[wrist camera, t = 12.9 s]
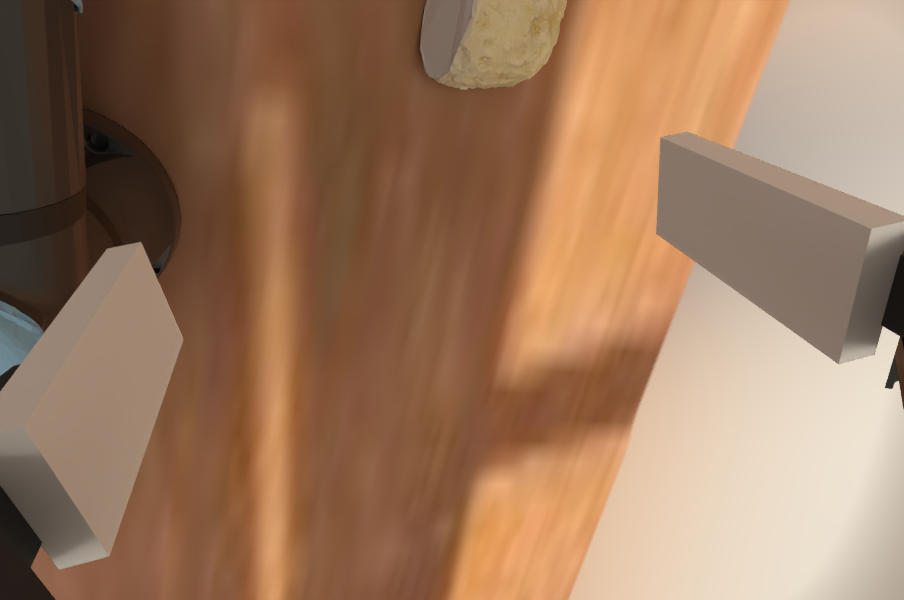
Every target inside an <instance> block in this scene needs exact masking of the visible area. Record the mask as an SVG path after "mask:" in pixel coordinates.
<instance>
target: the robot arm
mask: <svg viewBox="0 0 904 600" xmlns="http://www.w3.org/2000/svg"><path fill="white" fill-rule="evenodd" d="M82 13H83V3H82V0H0V600H55V598H54V597H53V596H52V595H51V593H50V592H49V591H48V590H47V588H46V587H45V586H44V585H43V583H42V582H41V581H40V579H39V578H38V577H37V576H36V574H35V573H34V572H33V571H32V569H31V568H30V567H31V565H32V563H33V561H34V559H35V557H36V555H37V552H38V550H39V548H40V546H42V548H43V549H44V550H45V552H46V553H47V554H48V556H49V557H50V558H51V560H52V561H53V562H54V564H55V565H56V566H57V568H58V569H63V568H67V567H71V566H75V565H78V564H82V563H86V562H90V561H94V560H97V559H101V558H105V557H109V556H110V553H111V550H112V547H113V544H114V541H115V538H116V535H117V532H118V529H119V526H120V523H121V521H122V518H123V515H124V512H125V509H126V506H127V503H128V500H129V497H130V494H131V491H132V488H133V486H134V483H135V480H136V477H137V474H138V471H139V468H140V465H141V462H142V459H143V456H144V453H145V451H146V448H147V445H148V442H149V439H150V436H151V433H152V430H153V427H154V424H155V421H156V418H157V415H158V413H159V410H160V407H161V404H162V401H163V398H164V395H165V392H166V389H167V386H168V383H169V380H170V378H171V375H172V372H173V369H174V366H175V363H176V360H177V357H178V354H179V351H180V348H181V345H182V343H183V340H184V339H183V337H182V334H181V332H180V330H179V327H178V325H177V323H176V321H175V318H174V316H173V314H172V311H171V309H170V307H169V305H168V302H167V300H166V298H165V295H164V293H163V291H162V289H161V286H160V284H159V282H158V278H159V276H160V275H161V274H162V272H163V271H164V269H165V268H166V266H167V264H168V262H169V260H170V258H171V256H172V254H173V252H174V250H175V248H176V245H177V242H178V238H179V233H180V208H179V203H178V199H177V195H176V192H175V189H174V187H173V184H172V182H171V180H170V178H169V176H168V174H167V173H166V171H165V169H164V168H163V166H162V165H161V163H160V162H159V161H158V159H157V158H156V157H155V156H154V154H153V153H152V152H151V151H150V150H149V149H148V148H147V147H146V146H145V145H144V144H143V143H142V142H141V141H140V140H139V139H137V138H136V137H135V136H134V135H132V134H131V133H130V132H128V131H127V130H126V129H124V128H123V127H121V126H119V125H118V124H116V123H114V122H113V121H111V120H109V119H107V118H105V117H103V116H101V115H98V114H96V113H94V112H91V111H88V110H85V109H82V90H81V71H80V52H79V34H78V15H77V14H82ZM656 234H657V235H659V236H660V237H662V238H663V239H664V240H666V241H667V242H669V243H670V244H671V245H673V246H674V247H676V248H677V249H678V250H680V251H681V252H683V253H684V254H685V255H687V256H688V257H690V258H691V259H692V260H694V261H695V262H697V263H698V264H699V265H701V266H702V267H704V268H705V269H706V270H708V271H709V272H711V273H712V274H713V275H715V276H716V277H718V278H719V279H720V280H722V281H723V282H725V283H726V284H727V285H729V286H730V287H731V288H733V289H734V290H736V291H737V292H739V293H740V294H741V295H743V296H744V297H746V298H747V299H748V300H750V301H751V302H753V303H754V304H755V305H757V306H758V307H759V308H761V309H762V310H764V311H765V312H766V313H768V314H769V315H771V316H772V317H774V318H775V319H776V320H778V321H779V322H781V323H782V324H783V325H785V326H786V327H787V328H789V329H790V330H792V331H793V332H794V333H796V334H797V335H799V336H800V337H801V338H803V339H804V340H806V341H807V342H808V343H810V344H811V345H813V346H814V347H815V348H817V349H818V350H820V351H821V352H823V353H824V354H825V355H827V356H828V357H830V358H831V359H832V360H834V361H835V362H836V363H838V364H841V363H845V362H849V361H852V360H856V359H860V358H864V357H867V356H871V355H875V352H876V348H877V344H878V341H879V337H880V334H881V330H882V326H884V327H886V328H887V329H889V330H891V331H892V332H894V333H896V334H897V335H899V336H900V339H899V342H898V346H897V349H896V352H895V356H894V359H893V363H892V366H891V369H890V372H889V376H888V379H887V382H886V386H885V388H889V389H892V388H893V385H894V383H895V382H896V381H899V383H900V390H901V396H902V402H903V408H904V216H902V215H900V214H897V213H895V212H892V211H890V210H887V209H885V208H882V207H879V206H877V205H874V204H872V203H869V202H867V201H864V200H862V199H859V198H856V197H854V196H851V195H848V194H846V193H844V192H841V191H838V190H836V189H833V188H831V187H828V186H825V185H823V184H820V183H818V182H815V181H813V180H810V179H808V178H805V177H803V176H800V175H797V174H795V173H792V172H790V171H787V170H784V169H782V168H779V167H777V166H774V165H772V164H769V163H766V162H764V161H761V160H759V159H756V158H754V157H751V156H749V155H746V154H743V153H741V152H738V151H736V150H733V149H731V148H728V147H726V146H723V145H720V144H718V143H715V142H713V141H710V140H708V139H705V138H702V137H700V136H697V135H695V134H692V133H690V132H684V133H679V134H674V135H669V136H664V137H661V139H660V161H659V183H658V206H657V228H656Z"/></svg>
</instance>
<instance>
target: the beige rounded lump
mask: <svg viewBox="0 0 904 600" xmlns="http://www.w3.org/2000/svg"><path fill="white" fill-rule="evenodd" d="M566 3H567V0H427V1H426V4H425V9H424V16H423V23H422V31H421V42H420V52H421V54H422V60H423V64H424V70H425V72H426V73H427V75H428V76H429V77H431V78H432V79H434V80H435V81H437V82H439V83H441V84H444V85H446V86H451V87H455V88H459V89H460V90H467V89H468V88H472V89H474V88H476V87H480V88H482V89H485V88H495V87H503V86H508V87H512V86H515V85H516V84H517V83H519V82H521V81H524V80H526V79H530V78H531V77H533V76H534V75H535V74H536V73H537V72H538V71H539V70H540V69H541V67H542V66H543V65H545V64H546V63H547V62H548V59H549V57H550V55H551V52H552V49H553V47H554V45H555V44H556V43H557V39H558V35H559V30H560V29H559V28H560V26H559V24H560V21H561V19H562V18H563V16H564V11H565V8H566Z"/></svg>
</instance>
